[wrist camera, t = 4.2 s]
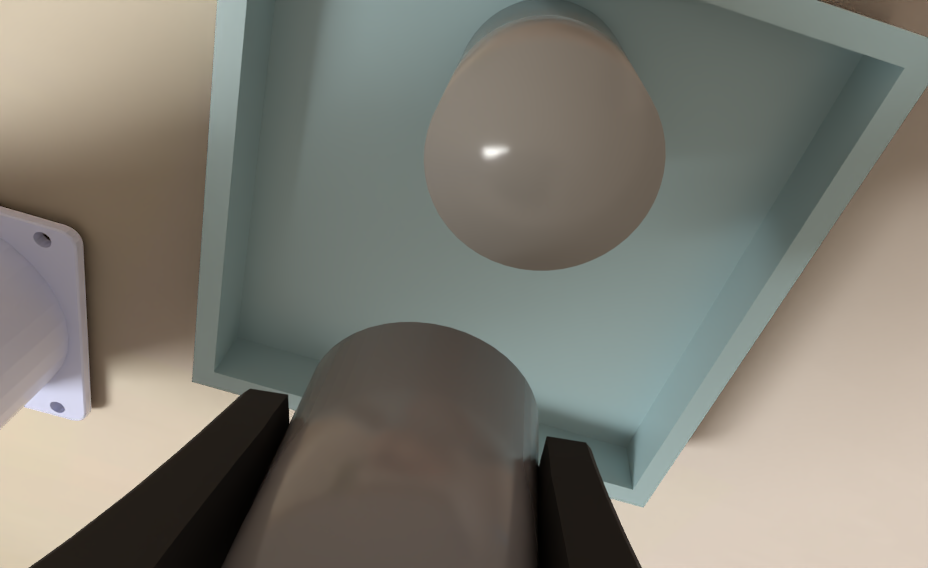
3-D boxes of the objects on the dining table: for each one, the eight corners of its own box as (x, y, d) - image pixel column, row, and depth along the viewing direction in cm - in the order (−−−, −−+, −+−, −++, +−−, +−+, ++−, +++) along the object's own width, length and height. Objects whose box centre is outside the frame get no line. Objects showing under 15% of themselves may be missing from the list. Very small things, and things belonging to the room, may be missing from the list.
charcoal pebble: (309, 477, 12) (184, 793, 8) (307, 303, 10) (133, 606, 6) (517, 511, 12) (506, 850, 8) (559, 343, 10) (576, 681, 6)
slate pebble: (437, 144, 16) (400, 233, 12) (483, -27, 14) (459, 6, 9) (589, 191, 16) (608, 296, 12) (657, 29, 14) (710, 86, 10)
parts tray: (227, 331, 21) (192, 381, 18) (279, -182, 13) (230, -198, 11) (632, 447, 21) (643, 507, 19) (891, 24, 14) (953, 46, 12)
